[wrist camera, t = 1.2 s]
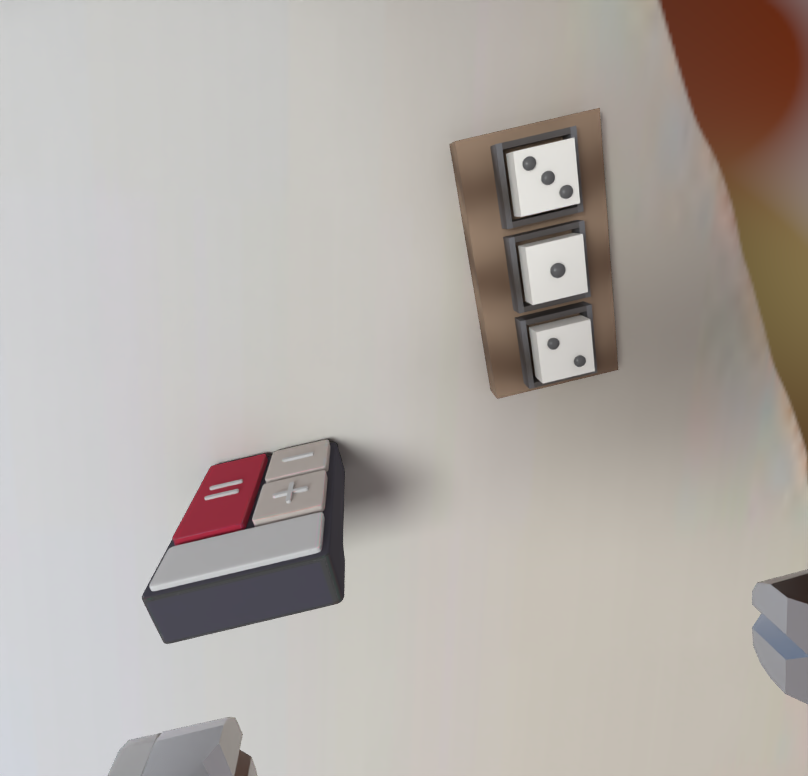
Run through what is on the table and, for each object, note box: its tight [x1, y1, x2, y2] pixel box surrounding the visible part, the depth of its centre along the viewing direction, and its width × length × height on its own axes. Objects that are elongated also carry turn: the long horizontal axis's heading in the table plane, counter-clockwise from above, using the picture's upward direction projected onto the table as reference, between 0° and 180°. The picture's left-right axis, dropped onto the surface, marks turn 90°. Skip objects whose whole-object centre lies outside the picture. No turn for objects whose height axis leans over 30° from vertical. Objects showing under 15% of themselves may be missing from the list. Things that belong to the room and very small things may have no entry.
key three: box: [506, 138, 580, 217], centre depth 34 cm, size 4×4×2 cm
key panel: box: [450, 108, 618, 399], centre depth 38 cm, size 19×10×3 cm, turn 12°
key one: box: [518, 233, 588, 305], centre depth 36 cm, size 4×4×2 cm
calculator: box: [142, 439, 345, 644], centre depth 36 cm, size 11×4×15 cm, turn 102°
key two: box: [529, 315, 595, 383], centre depth 38 cm, size 4×4×2 cm
